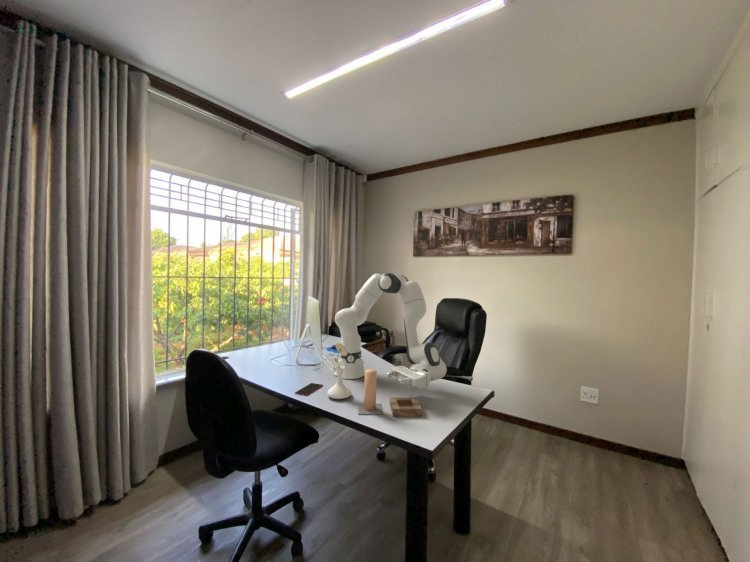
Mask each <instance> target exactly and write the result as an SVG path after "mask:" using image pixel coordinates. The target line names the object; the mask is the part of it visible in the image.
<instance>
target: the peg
mask: <svg viewBox="0 0 750 562" xmlns="http://www.w3.org/2000/svg"><path fill="white" fill-rule="evenodd" d="M364 371H365V376H364V392H363V393H364V399H363V404H364V409H365V410H367V411H374V410H375V409H376V404H377V370H376V369H371V368H370V369H364Z"/></svg>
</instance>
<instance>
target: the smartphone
mask: <svg viewBox="0 0 750 562" xmlns="http://www.w3.org/2000/svg"><path fill="white" fill-rule="evenodd" d="M322 386H323V387H324V385H323V384H320V383H314V382H311V383H309V384H306V385H305V386H304V387H302V388H300V389H299V390H297V391H295V392H294V394H295V395H297V394H298V395H299V396H303V395H304V396H303V397H309V395H310V396H311V393H312V394H313V393H314V392H315V393H316V392H317V391H318V390H319V389H321V388H322Z"/></svg>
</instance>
